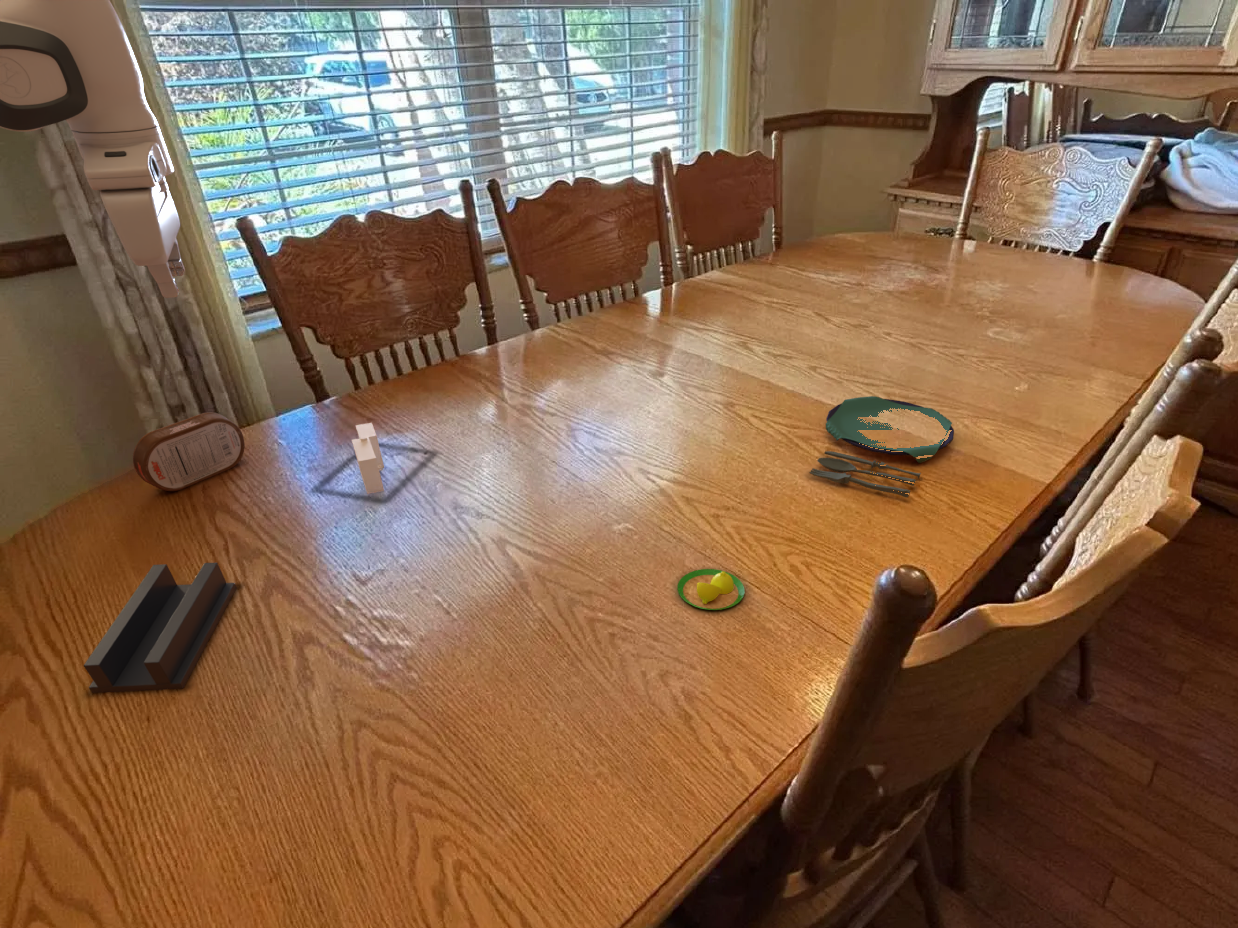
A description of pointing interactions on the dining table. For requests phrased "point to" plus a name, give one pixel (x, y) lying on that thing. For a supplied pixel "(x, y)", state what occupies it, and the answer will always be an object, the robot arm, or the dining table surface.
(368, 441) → the beige double block
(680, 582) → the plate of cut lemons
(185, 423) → the tin
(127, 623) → the holder
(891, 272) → the dining table surface
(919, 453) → the cutlery set
